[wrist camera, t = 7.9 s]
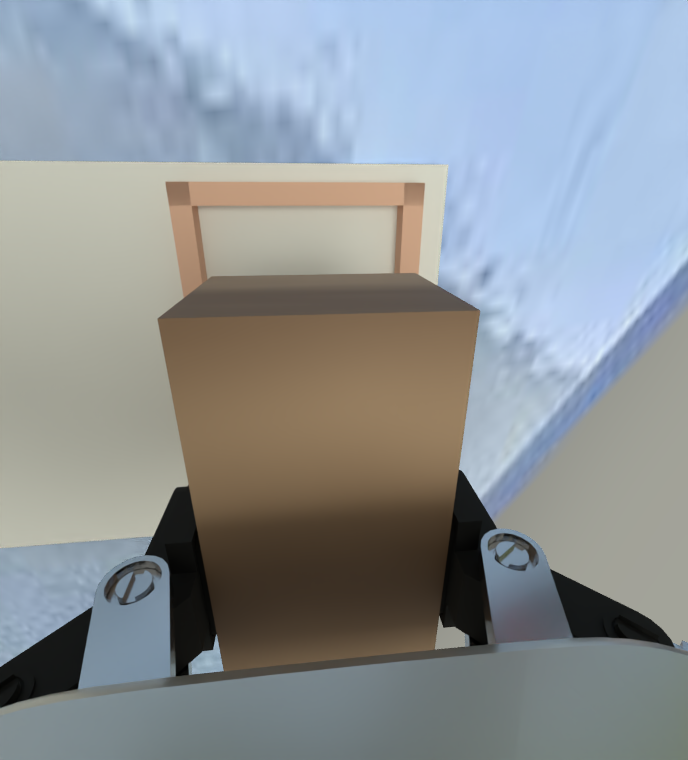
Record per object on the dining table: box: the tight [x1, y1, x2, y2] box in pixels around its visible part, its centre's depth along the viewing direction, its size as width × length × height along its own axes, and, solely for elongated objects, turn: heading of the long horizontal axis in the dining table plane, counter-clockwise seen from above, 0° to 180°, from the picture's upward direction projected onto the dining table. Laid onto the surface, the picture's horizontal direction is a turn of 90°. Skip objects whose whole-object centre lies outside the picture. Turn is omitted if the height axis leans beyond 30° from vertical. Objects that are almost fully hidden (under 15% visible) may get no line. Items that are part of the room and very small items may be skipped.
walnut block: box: [157, 273, 480, 671], centre depth 10 cm, size 12×5×4 cm, turn 0°
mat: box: [0, 161, 448, 548], centre depth 18 cm, size 26×18×2 cm
